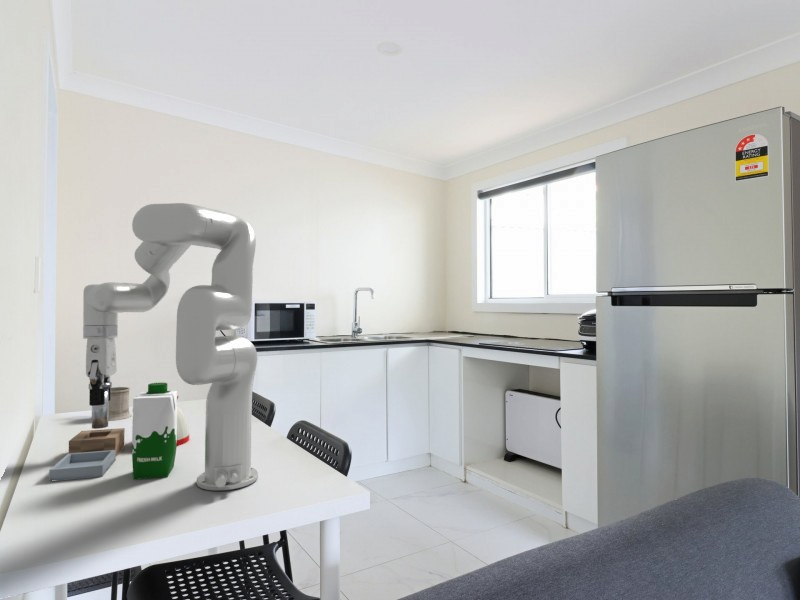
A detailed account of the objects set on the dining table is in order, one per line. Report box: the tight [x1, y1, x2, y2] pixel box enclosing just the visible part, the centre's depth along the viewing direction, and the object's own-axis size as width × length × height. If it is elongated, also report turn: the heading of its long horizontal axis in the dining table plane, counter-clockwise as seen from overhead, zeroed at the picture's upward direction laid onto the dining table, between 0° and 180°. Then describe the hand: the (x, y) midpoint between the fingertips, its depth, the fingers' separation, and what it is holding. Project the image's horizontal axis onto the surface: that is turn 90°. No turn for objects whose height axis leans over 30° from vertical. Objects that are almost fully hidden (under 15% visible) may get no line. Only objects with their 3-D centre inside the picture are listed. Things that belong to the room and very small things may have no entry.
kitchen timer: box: [177, 395, 190, 447], centre depth 133 cm, size 14×14×15 cm
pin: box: [88, 381, 113, 430], centre depth 121 cm, size 5×5×11 cm
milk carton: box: [131, 382, 178, 481], centre depth 108 cm, size 9×9×20 cm
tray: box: [48, 450, 117, 482], centre depth 109 cm, size 12×10×2 cm
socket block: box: [68, 427, 126, 457], centre depth 122 cm, size 10×10×5 cm
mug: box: [108, 386, 133, 422], centre depth 163 cm, size 14×10×12 cm
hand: (100, 402), depth 122 cm, fingers closed on pin, 4 cm apart
